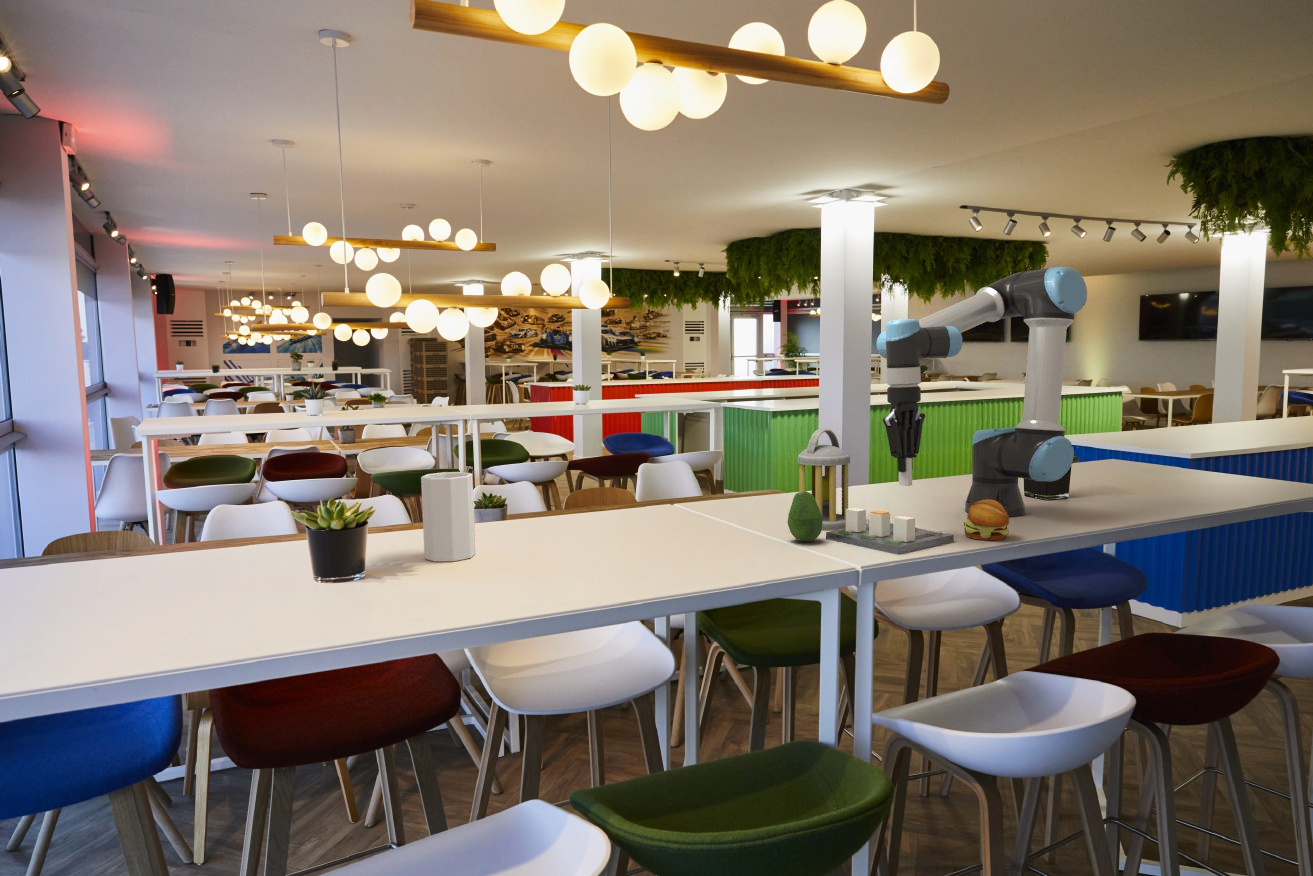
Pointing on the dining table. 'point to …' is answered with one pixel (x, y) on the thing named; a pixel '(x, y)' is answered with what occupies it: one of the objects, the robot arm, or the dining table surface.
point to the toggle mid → (879, 523)
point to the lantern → (826, 478)
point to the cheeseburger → (987, 521)
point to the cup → (448, 516)
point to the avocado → (805, 517)
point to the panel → (891, 540)
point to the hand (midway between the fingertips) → (905, 485)
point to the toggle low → (856, 519)
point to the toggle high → (904, 528)
